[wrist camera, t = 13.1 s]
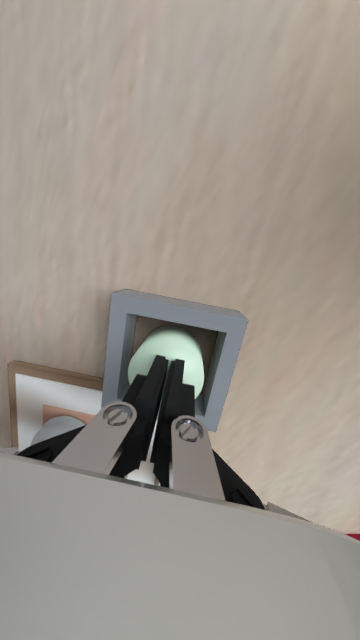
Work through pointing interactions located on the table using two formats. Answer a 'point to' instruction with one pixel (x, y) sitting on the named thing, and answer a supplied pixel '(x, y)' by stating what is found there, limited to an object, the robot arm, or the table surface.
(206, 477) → the robot arm
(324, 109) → the table surface
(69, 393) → the clipboard
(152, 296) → the button housing
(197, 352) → the button
